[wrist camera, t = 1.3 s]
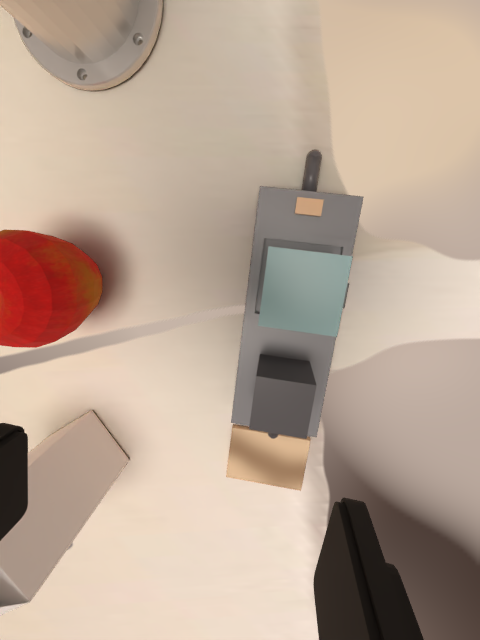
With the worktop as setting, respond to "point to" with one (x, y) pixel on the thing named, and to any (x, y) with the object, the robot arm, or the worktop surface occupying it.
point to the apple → (43, 288)
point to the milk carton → (57, 504)
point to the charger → (304, 290)
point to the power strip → (285, 345)
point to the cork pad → (267, 458)
